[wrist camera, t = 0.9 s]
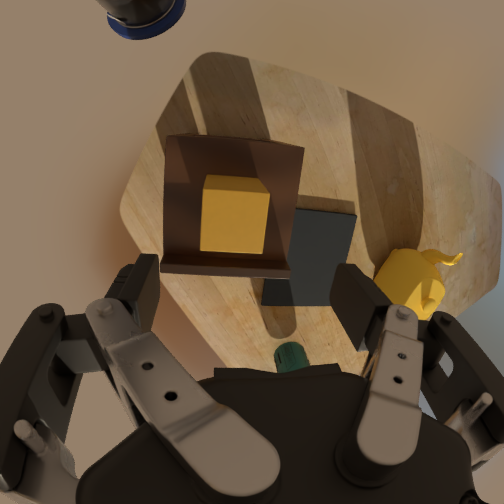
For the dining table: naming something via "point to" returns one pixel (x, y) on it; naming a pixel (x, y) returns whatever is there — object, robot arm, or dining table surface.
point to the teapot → (414, 279)
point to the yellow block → (233, 214)
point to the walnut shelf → (190, 202)
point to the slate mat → (311, 258)
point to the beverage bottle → (290, 357)
